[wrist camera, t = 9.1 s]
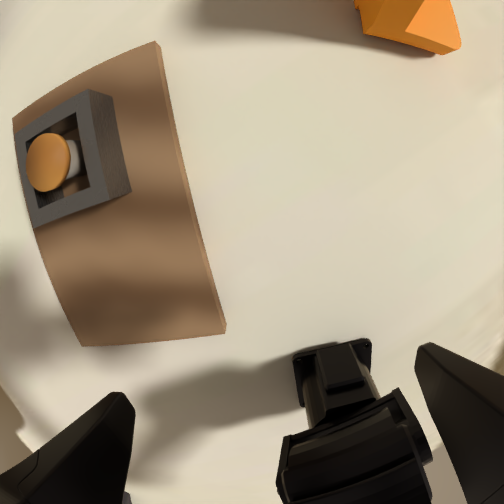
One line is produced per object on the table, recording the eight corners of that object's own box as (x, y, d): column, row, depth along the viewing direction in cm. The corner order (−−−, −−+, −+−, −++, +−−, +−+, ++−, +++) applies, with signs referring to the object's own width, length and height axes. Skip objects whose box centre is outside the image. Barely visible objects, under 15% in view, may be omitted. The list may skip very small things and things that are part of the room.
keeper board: (226, 324, 20) (219, 372, 15) (87, 338, 21) (60, 375, 16) (160, 46, 14) (130, 15, 9) (21, 118, 15) (-23, 118, 10)
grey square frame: (132, 191, 16) (109, 199, 13) (59, 217, 17) (33, 228, 14) (112, 96, 14) (88, 88, 11) (41, 133, 14) (14, 134, 12)
